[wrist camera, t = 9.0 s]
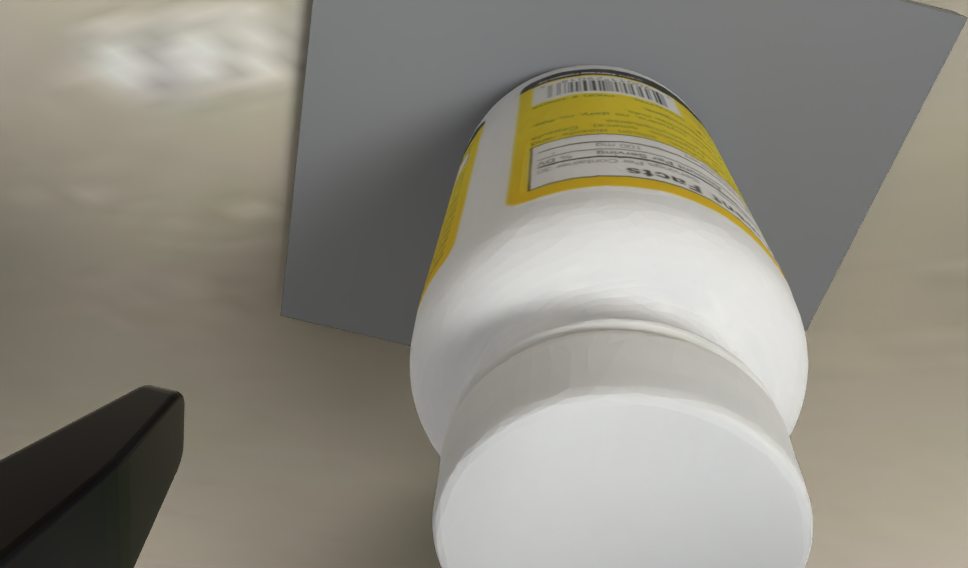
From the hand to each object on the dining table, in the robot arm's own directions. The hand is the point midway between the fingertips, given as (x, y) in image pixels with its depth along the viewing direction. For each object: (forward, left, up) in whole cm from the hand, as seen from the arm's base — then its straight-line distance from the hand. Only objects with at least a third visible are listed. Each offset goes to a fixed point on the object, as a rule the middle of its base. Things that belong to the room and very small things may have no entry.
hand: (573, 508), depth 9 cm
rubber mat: (0, 0, -10) cm, 10 cm away
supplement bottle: (0, 0, -9) cm, 9 cm away
